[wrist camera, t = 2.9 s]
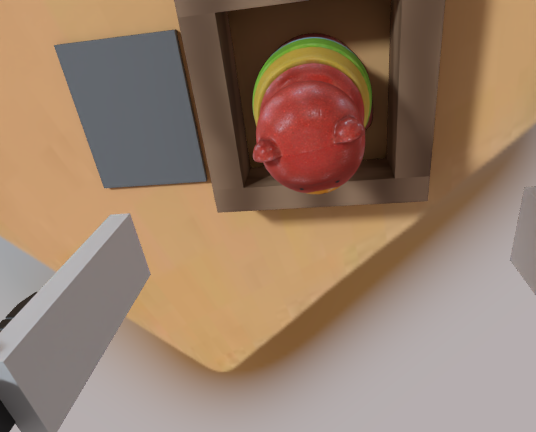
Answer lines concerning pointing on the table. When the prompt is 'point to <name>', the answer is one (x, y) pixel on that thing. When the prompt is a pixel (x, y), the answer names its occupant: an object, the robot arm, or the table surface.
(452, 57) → the table surface
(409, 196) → the square wooden frame
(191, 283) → the table surface
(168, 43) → the rubber mat
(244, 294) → the table surface
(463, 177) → the table surface
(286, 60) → the stacking bear
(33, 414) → the robot arm
